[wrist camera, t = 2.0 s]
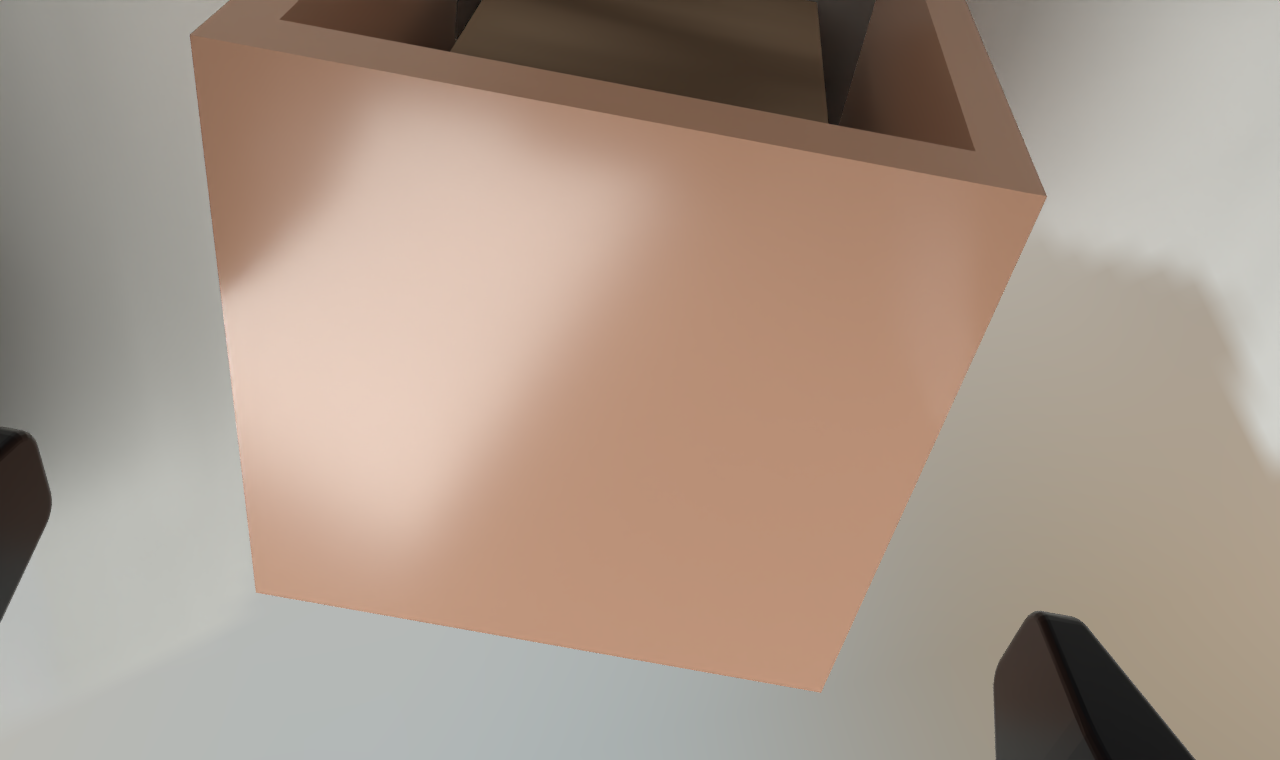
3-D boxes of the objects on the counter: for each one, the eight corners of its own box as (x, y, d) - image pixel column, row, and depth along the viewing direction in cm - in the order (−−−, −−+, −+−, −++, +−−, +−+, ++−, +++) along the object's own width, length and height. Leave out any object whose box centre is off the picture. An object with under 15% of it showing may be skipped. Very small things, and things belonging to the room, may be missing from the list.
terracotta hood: (416, 261, 19) (256, 592, 13) (427, -171, 14) (190, 34, 8) (805, 333, 19) (820, 692, 13) (934, -72, 14) (1046, 196, 9)
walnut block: (495, 208, 18) (419, 395, 14) (516, -56, 15) (428, 86, 11) (750, 256, 18) (742, 455, 14) (817, 2, 15) (831, 163, 11)
